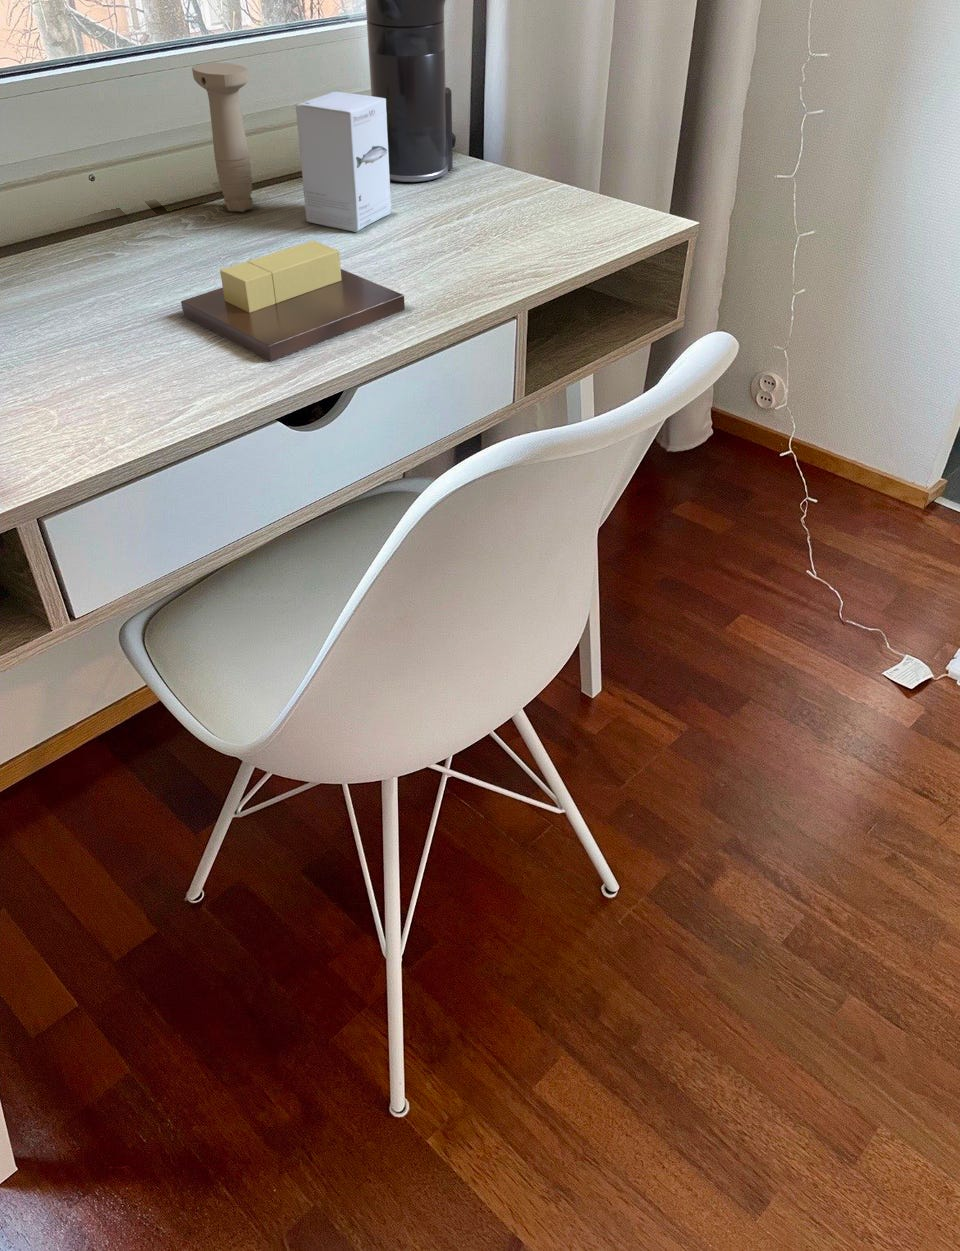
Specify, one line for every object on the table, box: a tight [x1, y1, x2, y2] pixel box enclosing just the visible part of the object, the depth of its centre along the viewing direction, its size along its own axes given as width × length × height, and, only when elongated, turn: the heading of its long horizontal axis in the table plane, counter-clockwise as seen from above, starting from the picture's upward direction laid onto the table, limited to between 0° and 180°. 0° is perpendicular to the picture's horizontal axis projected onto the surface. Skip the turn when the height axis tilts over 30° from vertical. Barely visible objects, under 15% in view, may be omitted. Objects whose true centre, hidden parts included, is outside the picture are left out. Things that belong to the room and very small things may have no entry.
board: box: [180, 268, 406, 362], centre depth 100 cm, size 16×14×2 cm
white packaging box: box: [295, 91, 392, 233], centre depth 117 cm, size 7×7×13 cm
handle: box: [191, 62, 253, 213], centre depth 119 cm, size 5×6×15 cm
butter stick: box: [246, 239, 342, 303], centre depth 101 cm, size 8×4×3 cm, turn 135°
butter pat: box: [219, 261, 275, 313], centre depth 98 cm, size 3×4×3 cm
